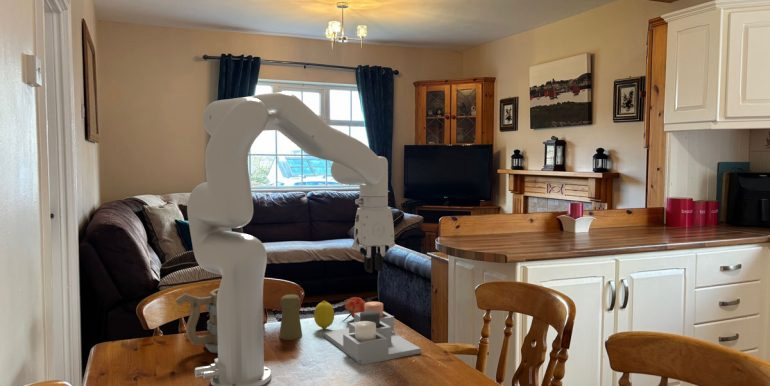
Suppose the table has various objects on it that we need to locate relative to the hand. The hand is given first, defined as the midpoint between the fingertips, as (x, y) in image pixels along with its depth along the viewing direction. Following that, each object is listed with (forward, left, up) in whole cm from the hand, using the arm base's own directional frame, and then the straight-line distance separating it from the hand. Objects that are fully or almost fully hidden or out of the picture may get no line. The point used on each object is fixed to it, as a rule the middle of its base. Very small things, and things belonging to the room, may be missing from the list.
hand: (373, 270), depth 152 cm
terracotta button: (0, 0, -13) cm, 13 cm away
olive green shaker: (-20, +9, -17) cm, 28 cm away
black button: (-5, -7, -13) cm, 16 cm away
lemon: (-10, +10, -17) cm, 22 cm away
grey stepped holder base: (-5, -7, -17) cm, 19 cm away
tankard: (-39, +9, -17) cm, 44 cm away
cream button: (-10, -15, -13) cm, 22 cm away
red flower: (+1, +13, -17) cm, 21 cm away
